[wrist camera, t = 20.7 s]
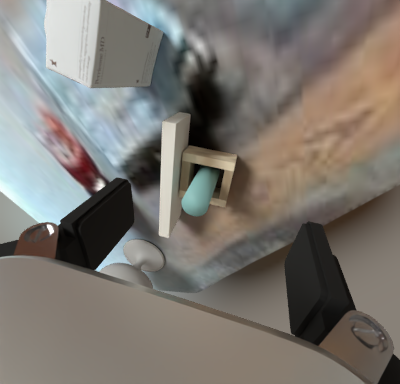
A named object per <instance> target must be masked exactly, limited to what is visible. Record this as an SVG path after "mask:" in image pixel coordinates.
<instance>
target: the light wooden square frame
mask: <svg viewBox="0 0 400 384" xmlns="http://www.w3.org/2000/svg"><path fill="white" fill-rule="evenodd" d="M236 159H237V155H235V154H230V153H225V152H220V151H215V150H210V149H205V148H200V147H195V146H190V145H189V146H188V147H187V148H186V149H185V151H184V152H183V157H182V168H181V180H180V191H179V197H182V198H183V197H184V195H185V193H186V191H187V190H188V188H189V186H190V184H191V183H192V181H193V175H194V167H195V163H196V164H201V165H205V166H210V167H215V168H219V169H224V170H225V171H224V176H223V181H222V185H221V188H216V187H215V189H214V192H213V195H212V198H211V201H210V204H212V205H216V206H221V207H225V206H226V202H227V198H228V193H229V189H230V185H231V181H232V176H233V172H234V168H235V163H236Z"/></svg>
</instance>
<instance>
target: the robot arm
mask: <svg viewBox="0 0 400 384" xmlns="http://www.w3.org/2000/svg"><path fill="white" fill-rule="evenodd" d="M60 222H61V224H60V225H58V226H57V225H56V224H54V223H50V222H45V223H39V224H36V225H33V226H31V227H29V228H27V229H26V230H25V231H23V232H22V233H21V235H20V237H19V240H15V241H11V242H7V243H3V244H0V384H400V360H399V359H398V358H397V357H396V356H395V355H394V354H393V350H394V346H393V342H392V339H391V337H390V336H389V334H388V332H387V331H386V330H385V329H384V327H383V326H382V325H381V324H380V323H378V322H377V321H376V320H375V319H374V318H372V317H371V316H369V315H367V314H365V313H363V312H360V311H357V310H356V308H355V305H354V302H353V300H352V297H351V294H350V292H349V289H348V286H347V283H346V281H345V278H344V275H343V273H342V270H341V268H340V265H339V262H338V259H337V258H336V256H334V255H332V252H331V249H330V246H329V243H328V240H327V237H326V235H325V232H324V229H323V226H322V225H321V224H318V223H313V222H307V224H302V226H301V228H300V230H299V232H298V235H297V237H296V239H295V241H294V243H293V245H292V247H291V249H290V251H289V253H288V255H287V258H286V260H285V276H286V286H287V297H288V307H289V318H290V328H291V333H292V334H293V335H295V336H293V335H290V334H288V333H285V332H282V331H279V330H276V329H273V328H270V327H267V326H264V325H261V324H259V323H256V322H253V321H250V320H247V319H244V318H241V317H238V316H235V315H231V314H228V313H225V312H222V311H219V310H216V309H213V308H210V307H207V306H204V305H201V304H198V303H195V302H192V301H188V300H185V299H182V298H179V297H176V296H173V295H170V294H166V293H164V292H160V291H157V290H154V289H151V288H148V287H145V286H142V285H139V284H135V283H132V282H129V281H126V280H123V279H120V278H116V277H113V276H110V275H107V274H104V273H100V272H97V271H94V270H95V269H96V268H97V267H98V266H99V265H100V264H101V263H102V261H103V260H104V259H105V258H106V257H107V255H108V254H109V253H110V252H111V251H112V249H113V248H114V247H115V246H116V244H117V243H118V242H119V241H120V240H121V238H122V237H123V236H124V235H125V234H126V232H127V231H128V230H129V229H130V228H131V226H132V225H133V223H134V211H133V201H132V191H131V184H130V183H129V182H128V180H126V179H122V178H115V179H114V180H113V181H111V182H110V183H109V184H108V185H106V186H105V187H104V188H102V189H101V190H100V191H98V192H97V193H96V194H94V195H93V196H92V197H90V198H89V199H88V200H86V201H85V202H84V203H82V204H81V205H80V206H79V207H77V208H76V209H75V210H73V211H72V212H71V213H69V214H68V215H67V216H65V217H64V218H63V219H61V220H60Z"/></svg>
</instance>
